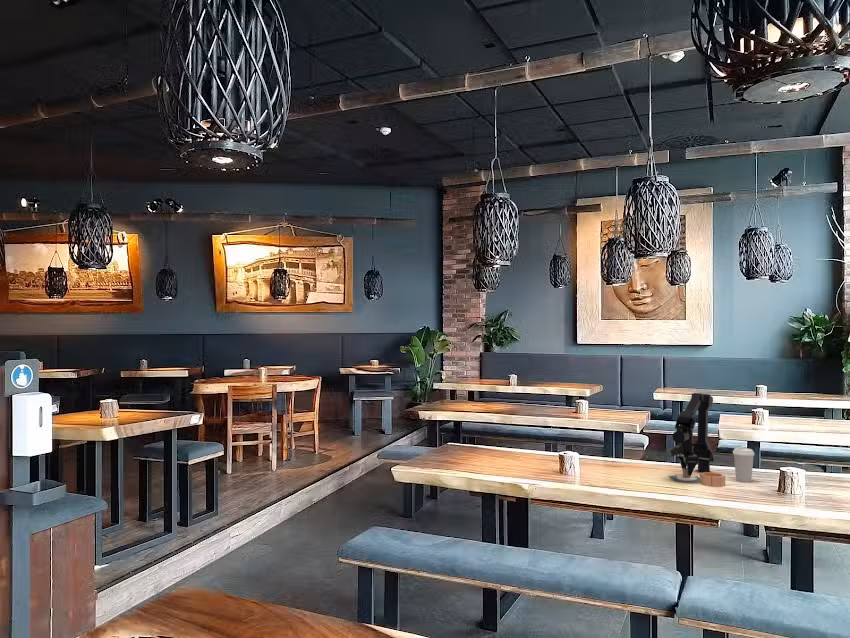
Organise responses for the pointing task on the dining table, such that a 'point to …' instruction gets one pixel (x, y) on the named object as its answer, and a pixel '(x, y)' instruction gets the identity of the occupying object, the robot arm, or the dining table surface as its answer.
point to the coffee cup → (743, 464)
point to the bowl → (712, 479)
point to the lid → (686, 476)
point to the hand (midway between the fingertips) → (686, 473)
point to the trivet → (684, 481)
